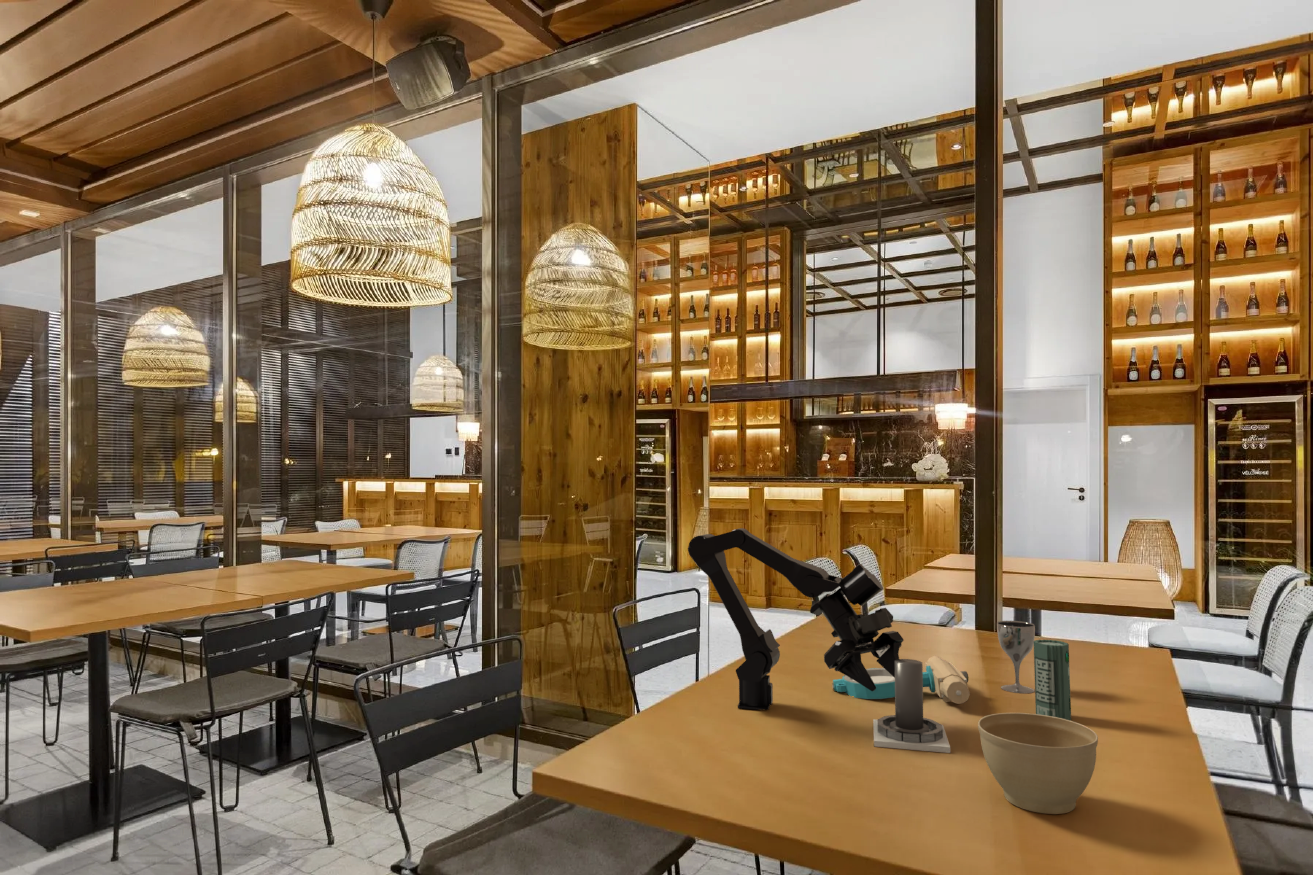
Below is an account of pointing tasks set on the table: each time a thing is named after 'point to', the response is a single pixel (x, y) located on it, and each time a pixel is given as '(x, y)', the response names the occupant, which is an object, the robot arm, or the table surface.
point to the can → (1052, 678)
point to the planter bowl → (1039, 759)
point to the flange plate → (910, 736)
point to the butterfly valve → (936, 677)
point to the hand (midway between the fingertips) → (889, 686)
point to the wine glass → (1016, 648)
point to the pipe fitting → (909, 697)
